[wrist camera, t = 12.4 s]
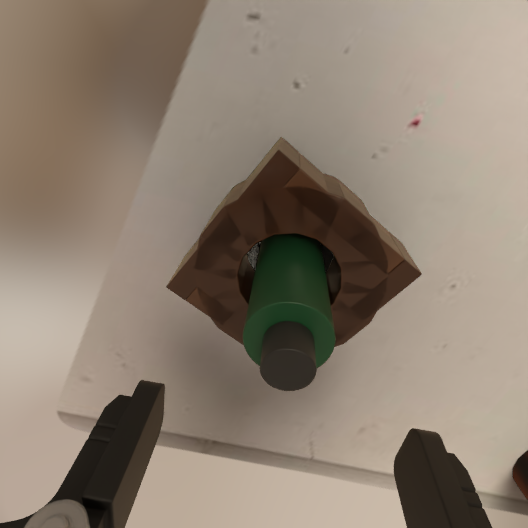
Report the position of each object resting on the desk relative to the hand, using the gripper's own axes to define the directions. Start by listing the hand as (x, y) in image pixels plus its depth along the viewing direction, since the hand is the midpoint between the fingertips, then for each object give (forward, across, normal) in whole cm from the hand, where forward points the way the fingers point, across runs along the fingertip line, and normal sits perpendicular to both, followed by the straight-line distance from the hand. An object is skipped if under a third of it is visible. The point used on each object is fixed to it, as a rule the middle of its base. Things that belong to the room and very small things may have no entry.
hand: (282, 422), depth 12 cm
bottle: (+13, 0, 0) cm, 13 cm away
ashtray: (+13, 0, 0) cm, 13 cm away
